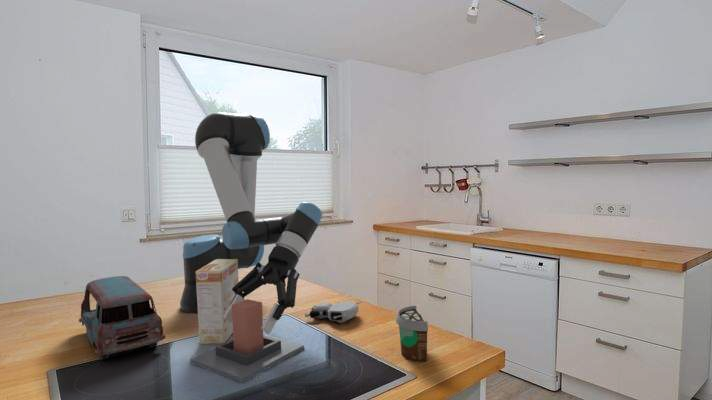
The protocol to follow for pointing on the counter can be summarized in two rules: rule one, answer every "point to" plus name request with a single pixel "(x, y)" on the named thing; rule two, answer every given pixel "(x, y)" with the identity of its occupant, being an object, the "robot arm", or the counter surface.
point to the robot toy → (334, 311)
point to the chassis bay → (246, 358)
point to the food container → (412, 334)
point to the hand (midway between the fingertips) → (245, 325)
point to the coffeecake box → (215, 299)
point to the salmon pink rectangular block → (247, 326)
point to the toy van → (120, 316)
